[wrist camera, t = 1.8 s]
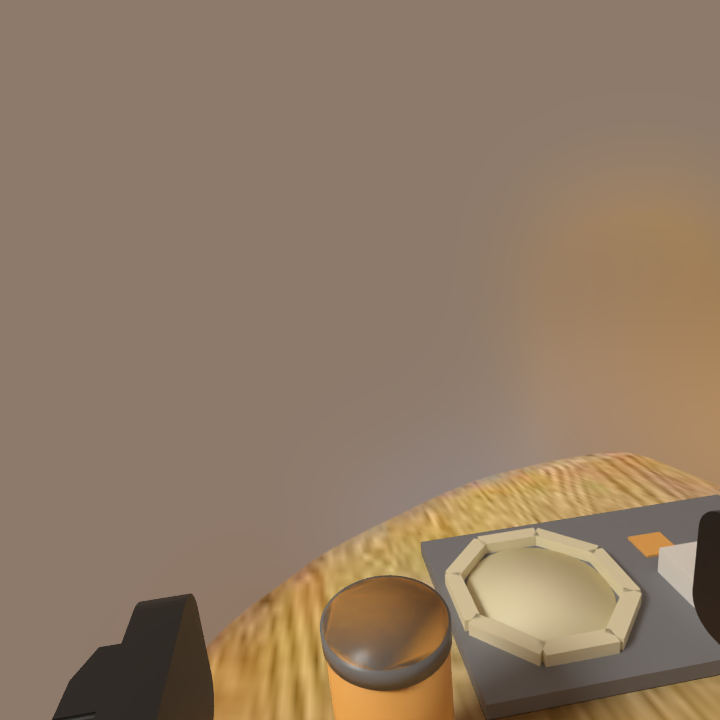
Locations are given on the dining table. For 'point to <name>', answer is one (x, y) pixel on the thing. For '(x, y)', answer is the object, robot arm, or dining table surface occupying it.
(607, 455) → the dining table surface
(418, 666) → the cap
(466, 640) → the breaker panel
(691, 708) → the dining table surface
